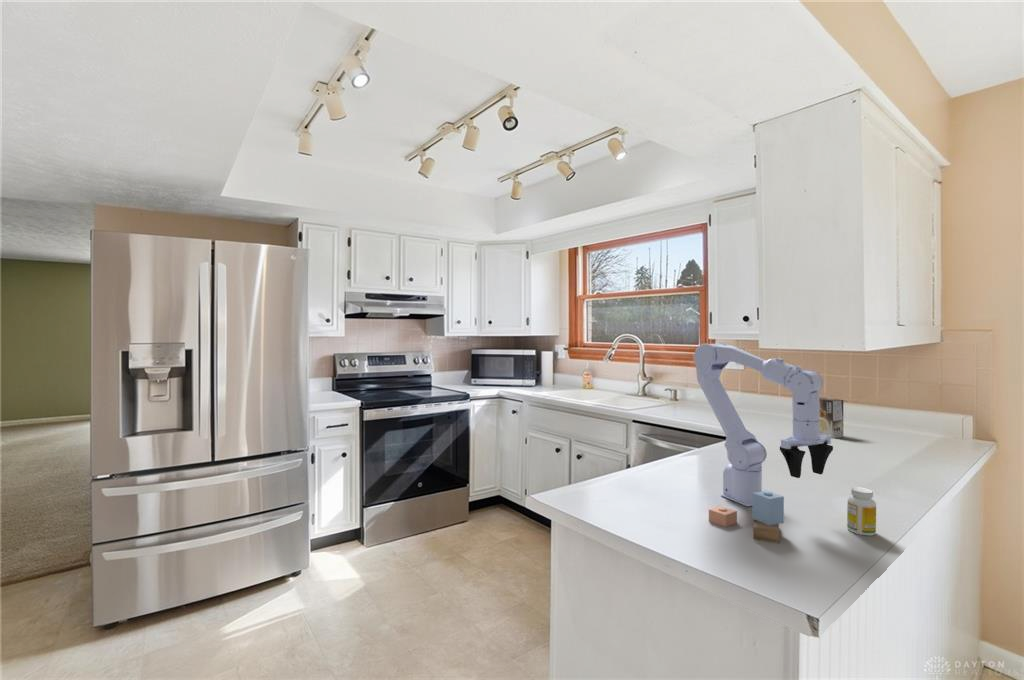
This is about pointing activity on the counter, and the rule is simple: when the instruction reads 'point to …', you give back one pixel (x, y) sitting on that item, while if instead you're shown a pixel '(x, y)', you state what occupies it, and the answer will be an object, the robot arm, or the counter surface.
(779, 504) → the blue brick
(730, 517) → the brick
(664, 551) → the counter surface
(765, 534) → the base brick
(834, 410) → the coffee box
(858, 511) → the supplement bottle
